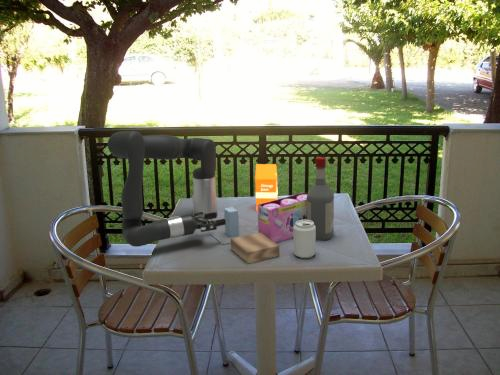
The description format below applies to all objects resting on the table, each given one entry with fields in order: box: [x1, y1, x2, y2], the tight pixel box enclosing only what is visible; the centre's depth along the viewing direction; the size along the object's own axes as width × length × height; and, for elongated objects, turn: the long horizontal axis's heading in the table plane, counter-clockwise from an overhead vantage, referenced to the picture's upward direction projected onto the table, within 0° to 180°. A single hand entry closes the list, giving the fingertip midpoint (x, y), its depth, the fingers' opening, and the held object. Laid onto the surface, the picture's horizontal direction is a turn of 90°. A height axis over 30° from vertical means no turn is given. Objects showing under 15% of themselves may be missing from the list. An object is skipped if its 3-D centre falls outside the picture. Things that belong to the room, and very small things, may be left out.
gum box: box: [257, 192, 308, 243], centre depth 196 cm, size 24×8×14 cm, turn 125°
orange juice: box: [254, 163, 279, 212], centre depth 224 cm, size 8×9×20 cm
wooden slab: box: [230, 232, 280, 265], centre depth 181 cm, size 12×14×4 cm
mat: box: [208, 224, 254, 246], centre depth 198 cm, size 14×14×1 cm
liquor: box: [307, 156, 335, 242], centre depth 190 cm, size 9×9×30 cm
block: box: [223, 206, 240, 237], centre depth 197 cm, size 4×5×10 cm
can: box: [293, 220, 317, 259], centre depth 177 cm, size 8×8×12 cm
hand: (220, 218), depth 194 cm, fingers open, 8 cm apart
